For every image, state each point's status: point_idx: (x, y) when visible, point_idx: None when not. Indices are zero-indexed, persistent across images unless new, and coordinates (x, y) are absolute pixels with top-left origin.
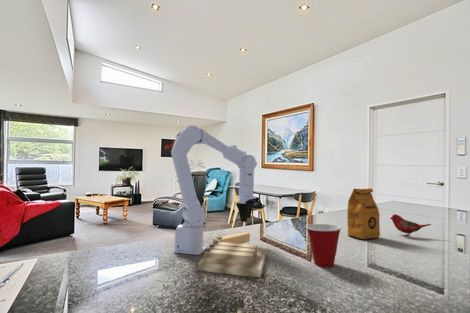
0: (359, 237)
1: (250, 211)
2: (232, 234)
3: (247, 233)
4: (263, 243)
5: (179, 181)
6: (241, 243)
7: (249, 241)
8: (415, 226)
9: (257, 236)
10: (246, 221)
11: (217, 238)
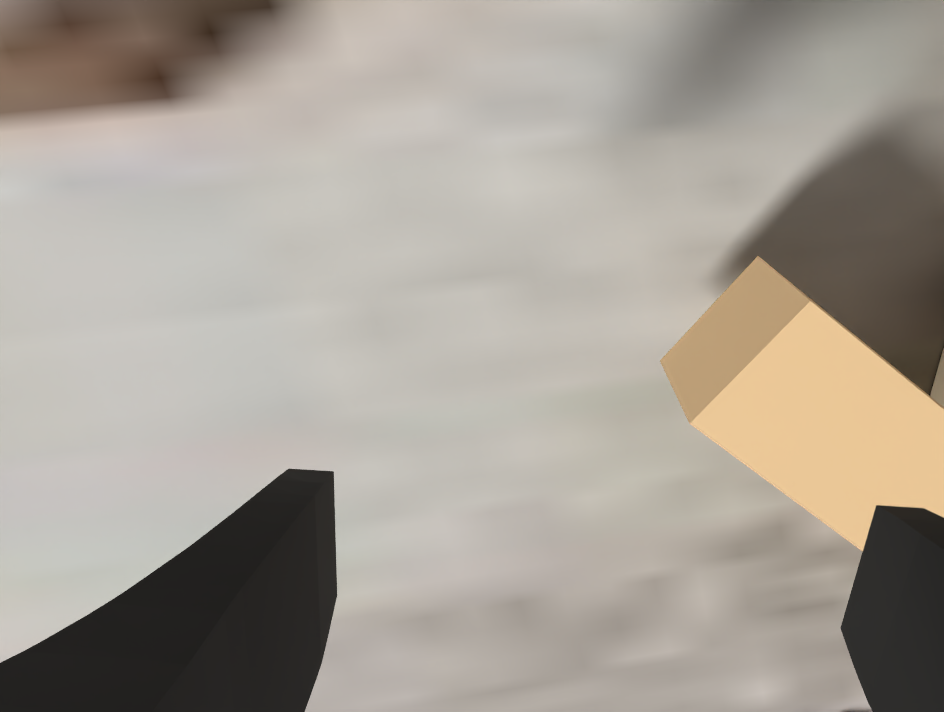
0: None
1: (253, 598)
2: None
3: (817, 345)
4: (421, 13)
5: None
6: (899, 371)
7: (760, 258)
8: None
9: (12, 169)
10: (909, 510)
11: None
